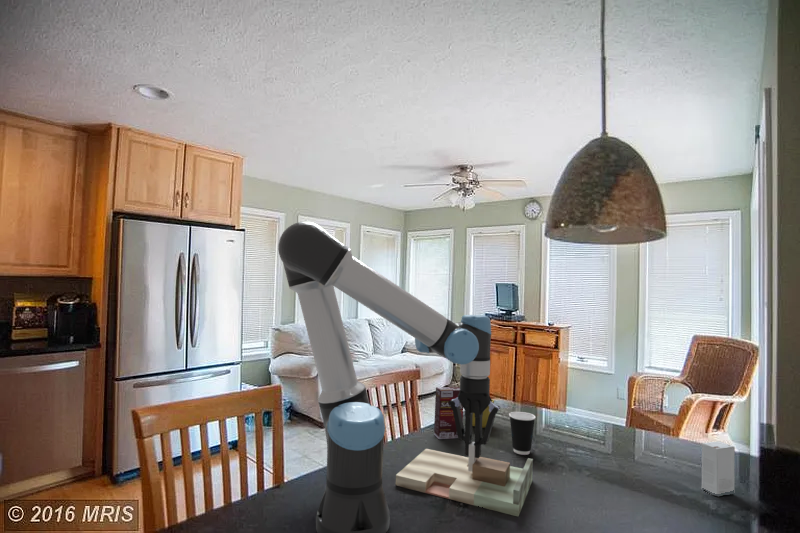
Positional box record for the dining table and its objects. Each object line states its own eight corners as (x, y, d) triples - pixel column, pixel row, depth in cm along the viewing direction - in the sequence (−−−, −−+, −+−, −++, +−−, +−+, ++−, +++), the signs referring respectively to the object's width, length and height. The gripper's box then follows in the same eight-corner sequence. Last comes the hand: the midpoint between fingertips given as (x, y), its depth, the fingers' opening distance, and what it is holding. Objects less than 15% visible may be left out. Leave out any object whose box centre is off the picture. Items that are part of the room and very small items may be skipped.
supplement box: (438, 440, 139) (439, 390, 140) (433, 434, 144) (434, 387, 145) (463, 438, 142) (464, 389, 142) (457, 433, 146) (458, 386, 147)
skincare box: (717, 487, 111) (717, 440, 112) (736, 495, 107) (735, 446, 107) (700, 490, 109) (700, 441, 110) (717, 498, 105) (717, 448, 106)
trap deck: (518, 516, 94) (518, 491, 94) (395, 485, 107) (396, 462, 107) (532, 480, 112) (532, 459, 112) (425, 457, 125) (426, 438, 125)
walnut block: (504, 486, 102) (505, 471, 103) (472, 479, 106) (472, 464, 106) (509, 476, 108) (510, 462, 108) (478, 470, 111) (478, 456, 111)
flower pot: (494, 424, 158) (494, 399, 158) (488, 431, 150) (489, 404, 150) (470, 420, 161) (471, 396, 162) (464, 426, 153) (465, 401, 154)
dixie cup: (503, 448, 134) (503, 412, 134) (524, 445, 137) (525, 410, 137) (518, 458, 126) (518, 420, 127) (540, 455, 129) (541, 418, 130)
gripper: (503, 376, 110) (501, 469, 109) (455, 370, 116) (452, 459, 115) (496, 381, 104) (494, 481, 103) (445, 375, 109) (443, 469, 108)
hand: (472, 469), depth 109 cm, fingers closed
